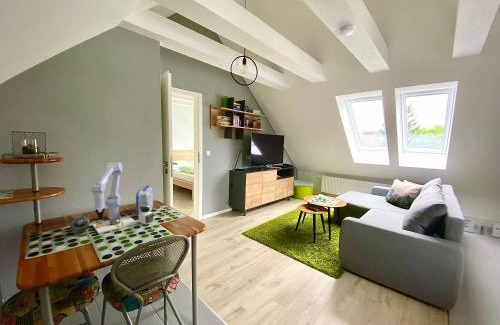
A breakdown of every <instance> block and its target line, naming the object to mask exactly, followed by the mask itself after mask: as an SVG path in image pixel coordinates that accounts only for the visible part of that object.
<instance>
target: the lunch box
mask: <svg viewBox="0 0 500 325" xmlns="http://www.w3.org/2000/svg"><path fill="white" fill-rule="evenodd" d="M153 190H154V189H153V187H152V186H149V185H145V186H142V187H141V189H139V190H138V191H137V192H136V194H135V201H136V202H135V214H136V216H139V214H140V213H141V208H142V207H144V206H149V207H150V212H152V210H153V209H154V191H153Z"/></svg>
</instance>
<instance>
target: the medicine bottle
mask: <svg viewBox="0 0 500 325" xmlns="http://www.w3.org/2000/svg"><path fill="white" fill-rule="evenodd" d="M153 222H154V213H153V212H152V211H151V212H150V207H149V206H144V207H142V208H141V213H140V214H139V215H138V223H139V224H143V225H148V224H150V223H153Z"/></svg>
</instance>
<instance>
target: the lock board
mask: <svg viewBox="0 0 500 325" xmlns="http://www.w3.org/2000/svg"><path fill="white" fill-rule="evenodd" d="M119 218H120V223H119V224H116V225H106V226H102V227H98V228H97V227H96V223H97V222H96V223H92V227H93V229H94V230H95V231H96V232H97V234H99V235H100V234H103V233H107V232H111V231H115V230H118V229H123V228H126V227H131V226H134V225H137V224H138V222H137V221H136V220H134V219H133V218H132V217H130V215H127V216H121V217H119ZM109 220H110V219H109ZM109 220H107V221H109ZM105 221H106V220H105ZM105 221H103V222H105ZM100 222H101V221H99V222H98V223H100Z"/></svg>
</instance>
